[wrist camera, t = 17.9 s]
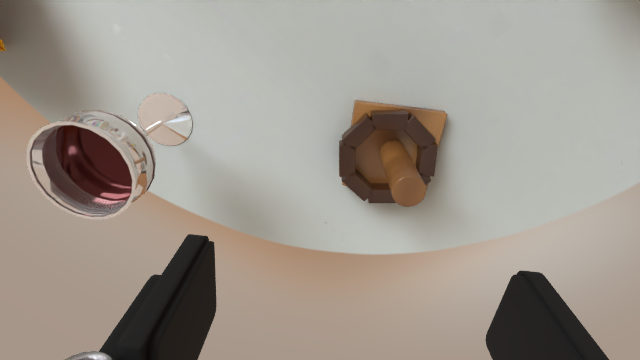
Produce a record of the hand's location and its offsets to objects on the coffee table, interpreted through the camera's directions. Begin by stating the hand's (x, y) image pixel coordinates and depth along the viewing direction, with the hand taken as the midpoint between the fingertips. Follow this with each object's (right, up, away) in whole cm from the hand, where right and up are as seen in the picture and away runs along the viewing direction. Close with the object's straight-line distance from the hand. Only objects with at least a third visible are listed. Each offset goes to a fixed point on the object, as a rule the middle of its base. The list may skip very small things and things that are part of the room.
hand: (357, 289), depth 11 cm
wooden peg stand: (+5, +6, +22) cm, 24 cm away
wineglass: (-15, +9, +22) cm, 28 cm away
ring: (+5, +6, +21) cm, 23 cm away
